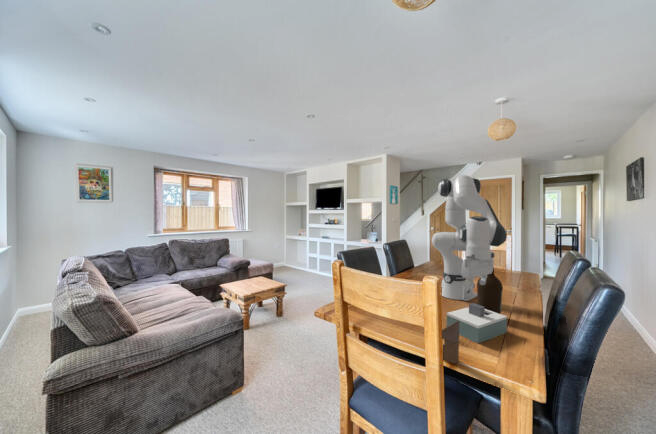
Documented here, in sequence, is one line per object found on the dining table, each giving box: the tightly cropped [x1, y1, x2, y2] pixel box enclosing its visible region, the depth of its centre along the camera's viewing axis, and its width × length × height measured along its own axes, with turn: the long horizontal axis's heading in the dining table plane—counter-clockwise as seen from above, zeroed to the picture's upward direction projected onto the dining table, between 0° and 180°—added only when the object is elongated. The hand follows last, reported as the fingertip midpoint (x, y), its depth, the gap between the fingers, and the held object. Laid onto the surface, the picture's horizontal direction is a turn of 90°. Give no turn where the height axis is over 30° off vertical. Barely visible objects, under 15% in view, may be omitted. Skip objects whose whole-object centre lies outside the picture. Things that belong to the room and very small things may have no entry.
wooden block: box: [441, 320, 460, 365], centre depth 90 cm, size 4×11×18 cm, turn 38°
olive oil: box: [476, 266, 504, 315], centre depth 124 cm, size 11×11×25 cm
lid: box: [446, 302, 508, 328], centre depth 109 cm, size 20×14×5 cm
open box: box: [446, 313, 508, 344], centre depth 110 cm, size 20×14×6 cm
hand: (477, 286), depth 109 cm, fingers open, 8 cm apart
